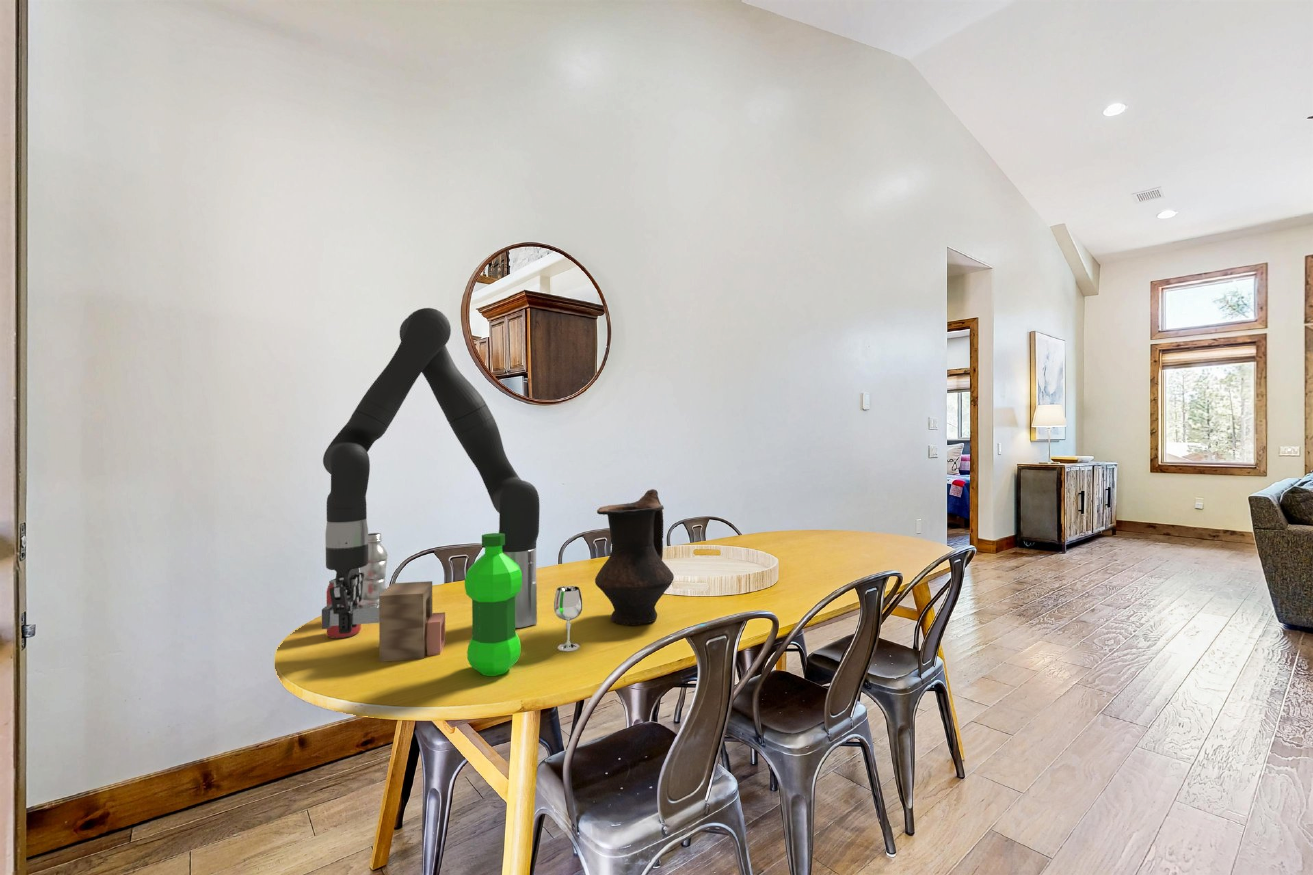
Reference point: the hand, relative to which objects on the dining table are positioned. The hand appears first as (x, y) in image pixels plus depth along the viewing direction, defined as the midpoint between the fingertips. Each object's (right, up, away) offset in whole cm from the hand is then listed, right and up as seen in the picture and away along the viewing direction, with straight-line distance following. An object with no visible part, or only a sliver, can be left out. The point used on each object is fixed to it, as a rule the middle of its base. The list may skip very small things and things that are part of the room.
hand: (348, 629), depth 116 cm
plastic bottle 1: (-7, -5, +25) cm, 27 cm away
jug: (+57, -5, +23) cm, 61 cm away
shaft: (+5, +1, +1) cm, 5 cm away
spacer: (+16, -5, +3) cm, 17 cm away
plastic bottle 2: (+31, -5, -8) cm, 33 cm away
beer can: (-8, -5, +13) cm, 16 cm away
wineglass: (+43, -5, +4) cm, 44 cm away
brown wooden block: (+11, -5, +2) cm, 12 cm away
